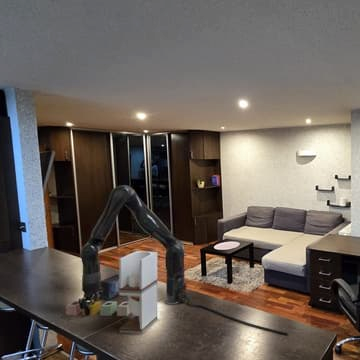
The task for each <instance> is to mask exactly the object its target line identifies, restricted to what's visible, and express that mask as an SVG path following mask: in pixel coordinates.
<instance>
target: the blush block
mask: <svg viewBox="0 0 360 360" xmlns="http://www.w3.org/2000/svg"><path fill="white" fill-rule="evenodd" d="M80 313H81V314H82V313H83V309H80V305H79V301H78V300H74V301H72V302H70V303H68V304H66V305H65V315H66V316H78V315H79V314H80Z"/></svg>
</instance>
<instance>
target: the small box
mask: <svg viewBox="0 0 360 360" xmlns="http://www.w3.org/2000/svg"><path fill="white" fill-rule="evenodd" d="M101 288H104V292H103V298H102V299H101V300H107V301H109V300H112V299H113V298H116V297H117V296H120V295H119V274H114V275H112V276H109V277H107V278H105V279H101ZM99 296H101V295H99Z"/></svg>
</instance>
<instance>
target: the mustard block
mask: <svg viewBox="0 0 360 360" xmlns="http://www.w3.org/2000/svg"><path fill="white" fill-rule="evenodd" d="M87 306H88V304H87ZM100 306H101V300H100V301H92V303H91V305H90V315H85V314H84V309H83V311H82V316H83V317H84V316H87V317H91V316H92V317H94V316H95V315H96V314H97V313H100Z"/></svg>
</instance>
